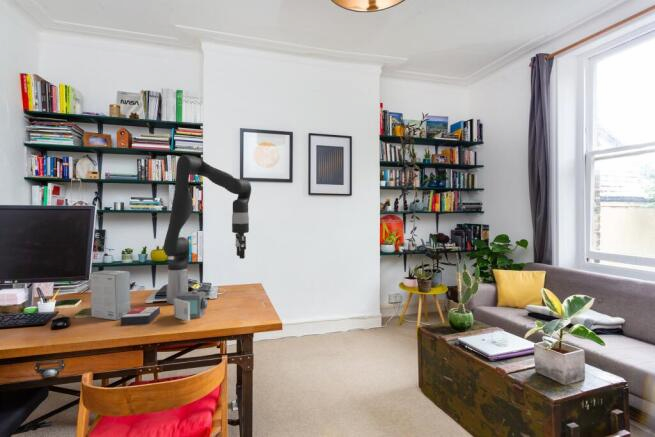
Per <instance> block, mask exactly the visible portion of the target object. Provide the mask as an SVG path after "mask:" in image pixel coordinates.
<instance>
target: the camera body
mask: <svg viewBox="0 0 655 437" xmlns="http://www.w3.org/2000/svg"><path fill="white" fill-rule="evenodd" d="M176 297H177V299H180V300H184V301H188V302H190V319H201V318H202V317H203V316H204V315H205V314H206V309H207V307H208V304H209V302H208V298H206V292H205V291H198V290H195V289H194V290H192V291H188V292H182V293H180V294H179V295H177V296H176ZM175 299H176V298H175ZM175 299H174V304H173V317H174V318H176V303H175Z"/></svg>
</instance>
